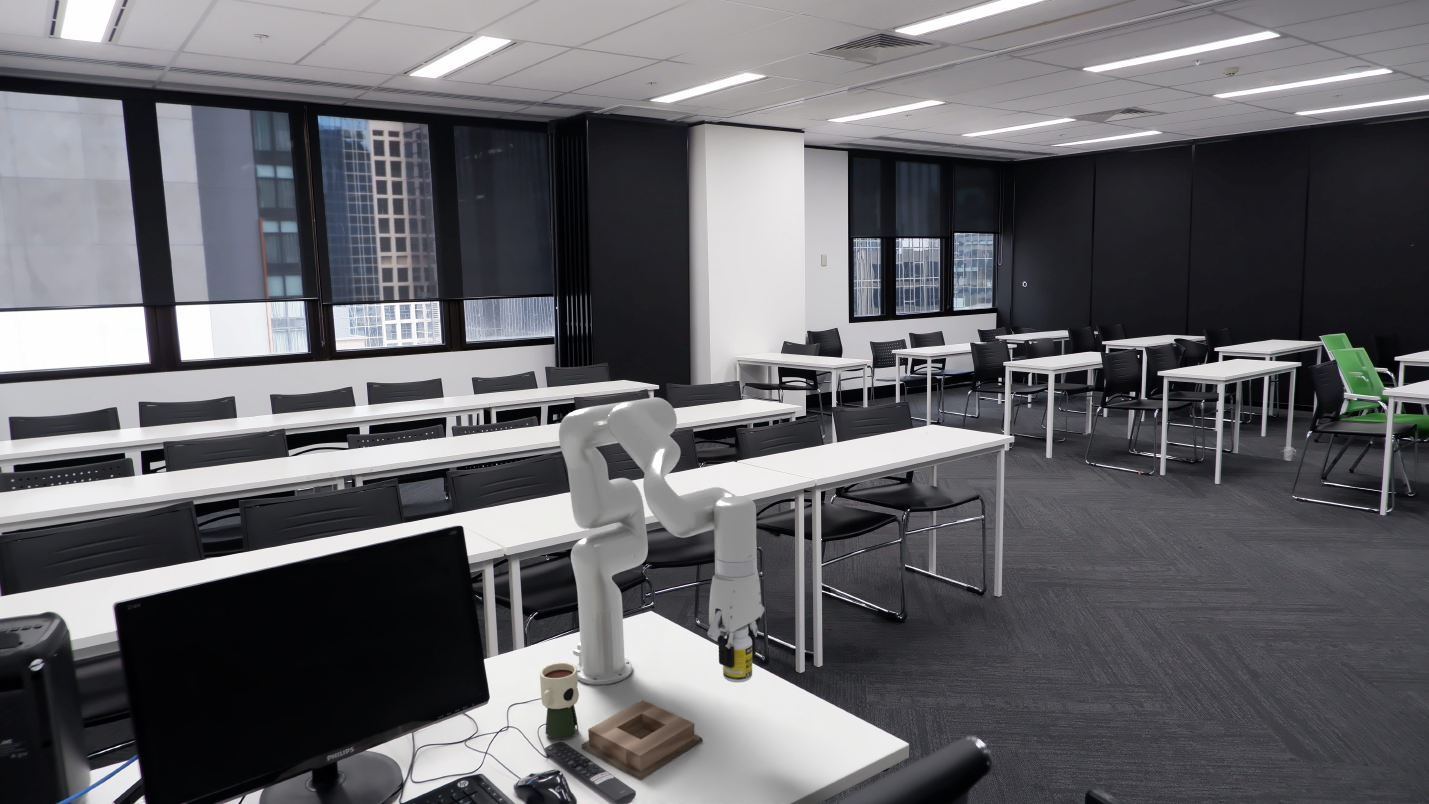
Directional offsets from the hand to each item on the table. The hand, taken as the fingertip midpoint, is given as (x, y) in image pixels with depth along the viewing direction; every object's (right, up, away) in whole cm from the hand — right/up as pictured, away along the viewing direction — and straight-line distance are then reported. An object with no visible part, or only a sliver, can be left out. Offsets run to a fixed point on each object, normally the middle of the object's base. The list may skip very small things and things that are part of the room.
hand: (737, 658), depth 158 cm
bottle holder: (-18, -17, +3) cm, 25 cm away
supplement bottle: (0, -4, +1) cm, 4 cm away
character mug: (-34, -17, +8) cm, 39 cm away
